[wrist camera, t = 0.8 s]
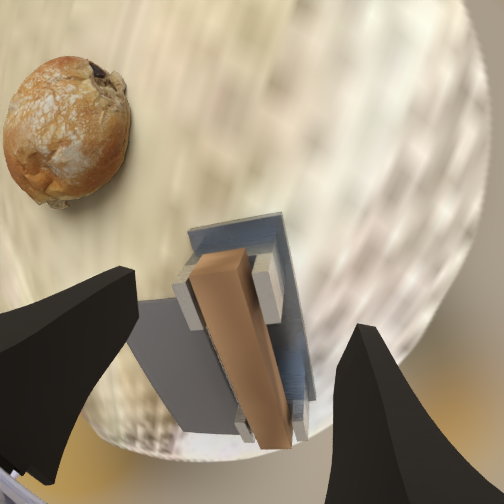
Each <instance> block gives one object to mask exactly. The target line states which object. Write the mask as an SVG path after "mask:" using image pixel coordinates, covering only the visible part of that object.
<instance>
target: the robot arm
mask: <svg viewBox="0 0 504 504" xmlns="http://www.w3.org/2000/svg"><path fill="white" fill-rule="evenodd" d="M138 319H139V309H138V300H137V290H136V279H135V270H133V269H129V268H126V267H122V266H118V267H115V268H112V269H110V270H107V271H105V272H103V273H101V274H98V275H96V276H94V277H92V278H90V279H87V280H85V281H83V282H81V283H79V284H77V285H74V286H72V287H70V288H68V289H66V290H64V291H61V292H59V293H56V294H54V295H52V296H49V297H47V298H45V299H42V300H40V301H38V302H35V303H32V304H30V305H27V306H24V307H21V308H18V309H15V310H12V311H9V312H5V313H1V314H0V504H47V503H46V502H44V501H43V500H42V499H40V498H39V497H37V496H36V495H35V494H33V493H32V492H31V491H29V490H28V489H27V488H25V487H24V486H23V485H21V484H20V483H19V482H18V481H16V480H15V479H16V478H17V477H18V476H19V475H21V476H23V475H24V474H25V472H28V473H29V474H30V475H31V476H33V477H34V478H35V479H37V480H38V481H39V482H41V483H42V484H44V485H52V484H54V483H55V479H56V475H57V471H58V468H59V464H60V461H61V458H62V455H63V452H64V449H65V446H66V444H67V441H68V439H69V436H70V434H71V431H72V429H73V427H74V425H75V422H76V420H77V418H78V416H79V414H80V412H81V410H82V408H83V406H84V404H85V402H86V400H87V398H88V396H89V395H90V393H91V391H92V390H93V388H94V387H95V385H96V384H97V382H98V381H99V379H100V378H101V376H102V375H103V374H104V372H105V371H106V369H107V368H108V367H109V365H110V364H111V362H112V361H113V360H114V358H115V357H116V355H117V354H118V353H119V351H120V350H121V348H122V347H123V346H124V344H125V343H126V341H127V340H128V338H129V336H130V334H131V332H132V331H133V329H134V327H135V325H136V323H137V321H138ZM325 504H504V493H503V492H501V491H500V490H499V489H498V488H496V487H495V486H493V485H492V484H491V483H489V481H487V480H486V479H485V478H484V477H483V476H482V475H481V474H480V473H479V472H478V471H477V470H476V469H474V468H473V467H472V466H471V465H470V464H469V463H468V462H467V461H466V460H465V459H464V457H463V456H462V455H461V454H460V453H459V452H458V451H457V450H456V449H455V447H454V446H453V445H452V444H451V443H450V442H449V441H448V439H447V438H446V437H445V436H444V434H443V433H442V432H441V431H440V429H439V428H438V427H437V425H436V424H435V423H434V421H433V420H432V419H431V417H430V416H429V415H428V413H427V412H426V410H425V409H424V408H423V406H422V404H421V403H420V401H419V400H418V398H417V397H416V395H415V394H414V392H413V391H412V389H411V387H410V386H409V384H408V382H407V381H406V379H405V377H404V376H403V374H402V372H401V371H400V369H399V367H398V365H397V364H396V362H395V360H394V358H393V357H392V355H391V353H390V351H389V349H388V348H387V346H386V344H385V342H384V341H383V339H382V337H381V335H380V334H379V332H378V330H377V329H376V327H374V326H369V325H363V324H358V323H357V325H356V327H355V329H354V332H353V334H352V336H351V338H350V340H349V342H348V345H347V347H346V349H345V351H344V353H343V355H342V357H341V359H340V361H339V363H338V365H337V368H336V377H335V385H334V394H333V455H332V466H331V473H330V479H329V484H328V490H327V495H326V499H325Z"/></svg>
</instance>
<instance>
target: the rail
mask: <svg viewBox="0 0 504 504" xmlns="http://www.w3.org/2000/svg"><path fill="white" fill-rule="evenodd" d="M189 279H190V282H191V284H192V287H193V290H194V293H195V295H196V298H197V301H198V303H199V306H200V309H201V311H202V314H203V316H204V319H205V322H206V324H207V327H208V329H209V332H210V334H211V337H212V339H213V342H214V344H215V347H216V349H217V352H218V354H219V357H220V359H221V361H222V364H223V366H224V369H225V371H226V373H227V376H228V378H229V380H230V383H231V385H232V387H233V390H234V392H235V394H236V396H237V399H238V401H239V403H240V405H241V408H242V410H243V412H244V414H245V416H246V419H247V421H248V423H249V425H250V427H251V429H252V432H253V434H254V436H255V438H256V440H257V442H258V444H259V446H260V448H261V449H291V447H292V435H293V424H292V418H291V415H290V411H289V407H288V404H287V400H286V396H285V393H284V389H283V385H282V382H281V378H280V374H279V371H278V367H277V363H276V359H275V356H274V352H273V348H272V345H271V341H270V337H269V333H268V330H267V326H266V324H265V322H264V318H263V314H262V310H261V307H260V303H259V299H258V296H257V292H256V288H255V284H254V281H253V277H252V270H251V266H250V262H249V259H248V255H247V251H246V248H240V249H234V250H228V251H221V252H215V253H209V254H203V255H202V256H201V258H200V260H199V261H198V263H197V264H196V266H195V267H194V269H193V270H192V272H191V273H190V275H189Z"/></svg>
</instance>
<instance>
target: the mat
mask: <svg viewBox="0 0 504 504" xmlns="http://www.w3.org/2000/svg"><path fill="white" fill-rule="evenodd" d="M138 309H139V319H138V321H137V323H136V325H135V327H134V329H133V331H132V332H131V334H130V336H129V338H128V340H127V341H126V342H127V344H128V345H129V347H130V349H131V351H132V353H133V354H134V356H135V358H136V360H137V361H138V363H139V365H140V366H141V368H142V370H143V371H144V373H145V375H146V376H147V378H148V379H149V381H150V383H151V384H152V386H153V387H154V389H155V391H156V392H157V394H158V395H159V397H160V398H161V400H162V401H163V403H164V404H165V406H166V407H167V409H168V410H169V412H170V413H171V415H172V416H173V418H174V419H175V420H176V422H177V423H178V425H179V426H180V427H181V429H182V430H183V432H194V433H209V434H232V435H240V433H239V431H238V430H237V428H236V426H235V424H234V421H235V417H236V413H237V408H238V403H237V401H236V399H235V397H234V394H233V392H232V390H231V388H230V385H229V383H228V381H227V378H226V376H225V374H224V371H223V369H222V367H221V364H220V362H219V360H218V357H217V355H216V352H215V350H214V348H213V345H212V343H211V340H210V338H209V335H208V333H207V330H206V328H204V330H193V331H190V328H189V326H188V324H187V321H186V319H185V317H184V314H183V312H182V309H181V307H180V305H179V302H178V300H177V298H168V299H159V300H149V301H138Z"/></svg>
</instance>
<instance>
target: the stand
mask: <svg viewBox="0 0 504 504" xmlns="http://www.w3.org/2000/svg"><path fill="white" fill-rule="evenodd" d="M188 235H189V238H190V241H191V244H192V247H193V250H194V253H193V254H192V256H191V257H190V259H189V260H188V261H187V263H186V264H185V266H184V267H183V268H182V270H181V271H180V273H179V274H178V276H177V277H176V278H175V280H174V281H173V283H172V287H173V290H174V292H175V295H176V297H177V300H178V302H179V305H180V307H181V309H182V312H183V314H184V317H185V319H186V321H187V324H188V326H189V328H190V331H193V330H204V328H205V326H206V322H205V319H204V316H203V314H202V311H201V309H200V306H199V303H198V301H197V298H196V295H195V293H194V290H193V287H192V284H191V282H190V279H189V275H190V273H191V272H192V270H193V269H194V267H195V266H196V264H197V263H198V261H199V260H200V258H201V256H202V255H203V254H209V253H215V252H221V251H228V250H234V249H240V248H246V251H247V255H248V259H249V262H250V266H251V270H252V277H253V281H254V284H255V288H256V292H257V296H258V299H259V303H260V307H261V310H262V314H263V318H264V322H265V324H266V326H267V330H268V333H269V337H270V341H271V345H272V348H273V352H274V356H275V359H276V363H277V367H278V371H279V374H280V378H281V382H282V385H283V389H284V393H285V396H286V400H287V404H288V407H289V411H290V415H291V418H292V424H293V428H294V432H295V435H296V439H297V441H308V420H309V401H314V400H316V392H315V386H314V379H313V373H312V367H311V361H310V355H309V350H308V344H307V338H306V332H305V327H304V321H303V316H302V310H301V305H300V300H299V294H298V289H297V284H296V279H295V274H294V268H293V263H292V258H291V253H290V249H289V244H288V239H287V234H286V229H285V224H284V220H283V215H282V212H277V213H271V214H266V215H260V216H255V217H249V218H244V219H238V220H233V221H228V222H222V223H217V224H212V225H207V226H202V227H197V228H192V229H190V230H189V231H188ZM234 424H235V426H236V428H237V430H238V431H239V433H240V435H241V437H242V439H243V441H244V442H247V443H254V440H255V436H254V434H253V432H252V429H251V427H250V425H249V423H248V421H247V419H246V416H245V414H244V412H243V410H242V408H241V405H240V403H239V404H238V408H237V413H236V417H235V421H234Z"/></svg>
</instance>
